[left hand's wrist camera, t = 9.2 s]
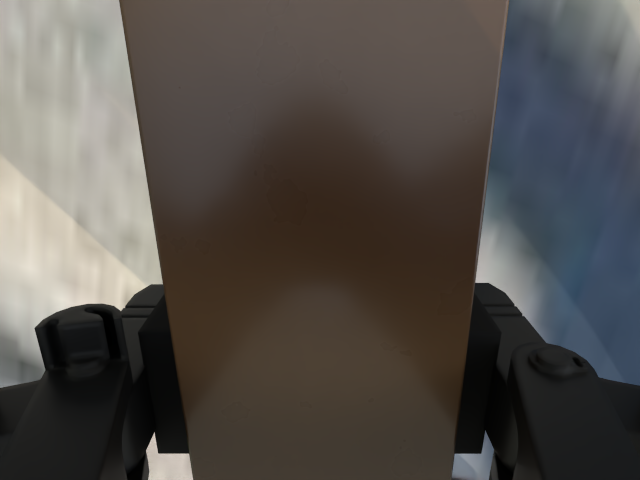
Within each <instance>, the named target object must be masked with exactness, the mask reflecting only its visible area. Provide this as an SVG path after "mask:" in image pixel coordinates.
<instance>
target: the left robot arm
mask: <svg viewBox="0 0 640 480" xmlns="http://www.w3.org/2000/svg"><path fill="white" fill-rule="evenodd" d="M35 332H36V335H37V339H38V343H39V347H40V351H41V354H42V358H43V362H44V366H45V369H46V370H45V372H44V374H43V376H42V378H41V380H37V381H33V382H29V383H23V384H18V385H13V386H8V387H3V388H0V480H148V476H149V466H148V459H147V454H146V449H147V447H148V445H149V443H150V440H151V438H152V436H153V434H154V432H155V437H156V443H157V448H158V453H189V448H188V442H187V435H186V429H185V423H184V416H183V410H182V403H181V397H180V390H179V384H178V377H177V371H176V364H175V358H174V351H173V345H172V338H171V332H170V325H169V319H168V313H167V306H166V300H165V293H164V287H163V285H150V286H148V287H146V288H145V289H143V290H141V291H140V292H138V293H136V294H135V295H134V296H133V297H132V298H131V300H130V301H129V302H128V303H127V305H126V307H125V308H123V310H122V311H120V310H118V309H117V308H116V307H114V306H111V305H106V304H85V305H80V306H75V307H70V308H68V309H65V310H62V311H59V312H56V313H54V314H53V315H51V316H49V317H47V318H45V319H44V320H42V321H41V322H40V323H39V324H38V325H37V326H36V327H35ZM485 430H486V432H487V435H488V437H489V439H490V441H491V443H492V446H493V448H494V454H493V459H492V465H491V470H490V476H489V480H640V386H637V385H632V384H627V383H622V382H617V381H612V380H607V379H603V378H599V377H598V375H597V374H596V372H595V370H594V368H593V367H592V366H591V365H590V364H589V362H588V361H587V360H585V359H584V358H582V357H581V356H579V355H578V354H576V353H575V352H573V351H570V350H568V349H565V348H563V347H561V346H557V345H552V344H548V343H546V342H545V341H544V340H543V339H542V337H541V336H540V335H539V334H538V333H537V331H536V330H535V329H534V328H533V326H532V325H531V324H530V323H529V322H528V320H527V319H526V318H525V317H524V316H522V313H521V312H520V311H519V309H518V308H517V307H514V303H513V302H512V301H511V300H510V298H509V297H508V296H507V295H506V293H504V292H503V291H501V290H499V289H498V288H496V287H494V286H493V285H491V284H489V283H475V287H474V296H473V304H472V312H471V321H470V329H469V337H468V345H467V354H466V362H465V370H464V379H463V387H462V395H461V403H460V412H459V420H458V428H457V437H456V445H455V453H454V454H481V452H482V446H483V440H484V434H485Z"/></svg>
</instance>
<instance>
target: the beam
mask: <svg viewBox="0 0 640 480" xmlns="http://www.w3.org/2000/svg"><path fill="white" fill-rule="evenodd" d="M119 2H120V8H121V15H122V21H123V28H124V34H125V41H126V47H127V54H128V60H129V67H130V73H131V80H132V86H133V93H134V99H135V105H136V112H137V118H138V125H139V131H140V138H141V144H142V151H143V157H144V164H145V170H146V177H147V183H148V190H149V196H150V203H151V209H152V215H153V222H154V228H155V235H156V241H157V248H158V254H159V261H160V267H161V274H162V280H163V287H164V293H165V300H166V306H167V313H168V319H169V325H170V332H171V338H172V345H173V351H174V358H175V364H176V371H177V377H178V384H179V390H180V397H181V403H182V410H183V416H184V423H185V429H186V435H187V442H188V448H189V455H190V461H191V468H192V474H193V480H451V478H452V470H453V462H454V453H455V445H456V437H457V428H458V420H459V412H460V403H461V395H462V387H463V379H464V370H465V362H466V354H467V345H468V337H469V329H470V321H471V312H472V304H473V296H474V287H475V279H476V271H477V263H478V254H479V246H480V238H481V229H482V221H483V213H484V205H485V196H486V188H487V180H488V171H489V163H490V155H491V147H492V138H493V130H494V122H495V113H496V105H497V97H498V89H499V80H500V72H501V64H502V55H503V47H504V39H505V30H506V22H507V14H508V6H509V0H119Z"/></svg>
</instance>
